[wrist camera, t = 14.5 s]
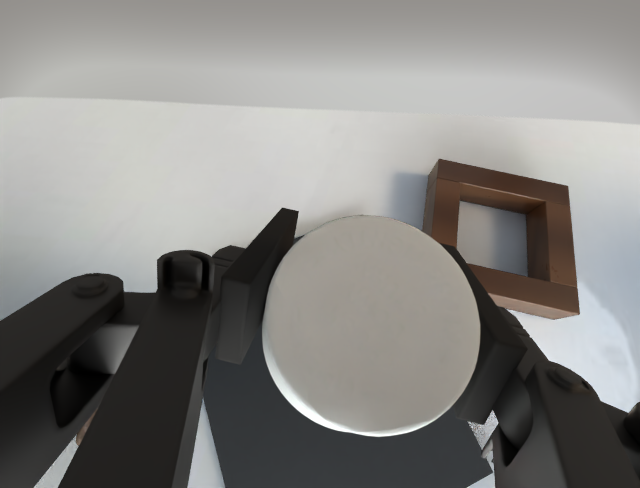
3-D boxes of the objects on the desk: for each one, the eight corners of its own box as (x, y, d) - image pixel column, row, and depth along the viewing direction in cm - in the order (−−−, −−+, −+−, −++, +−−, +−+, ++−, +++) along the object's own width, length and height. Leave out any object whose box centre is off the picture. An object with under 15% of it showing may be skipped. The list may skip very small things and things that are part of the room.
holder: (554, 319, 24) (580, 314, 22) (415, 287, 25) (426, 279, 23) (547, 200, 29) (568, 185, 26) (428, 175, 29) (438, 158, 27)
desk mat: (490, 470, 21) (493, 472, 20) (256, 602, 18) (255, 607, 17) (361, 216, 27) (362, 214, 27) (176, 282, 24) (174, 280, 24)
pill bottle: (354, 275, 19) (414, 162, 9) (407, 371, 17) (563, 373, 7) (262, 319, 18) (203, 249, 8) (307, 428, 16) (313, 535, 6)
